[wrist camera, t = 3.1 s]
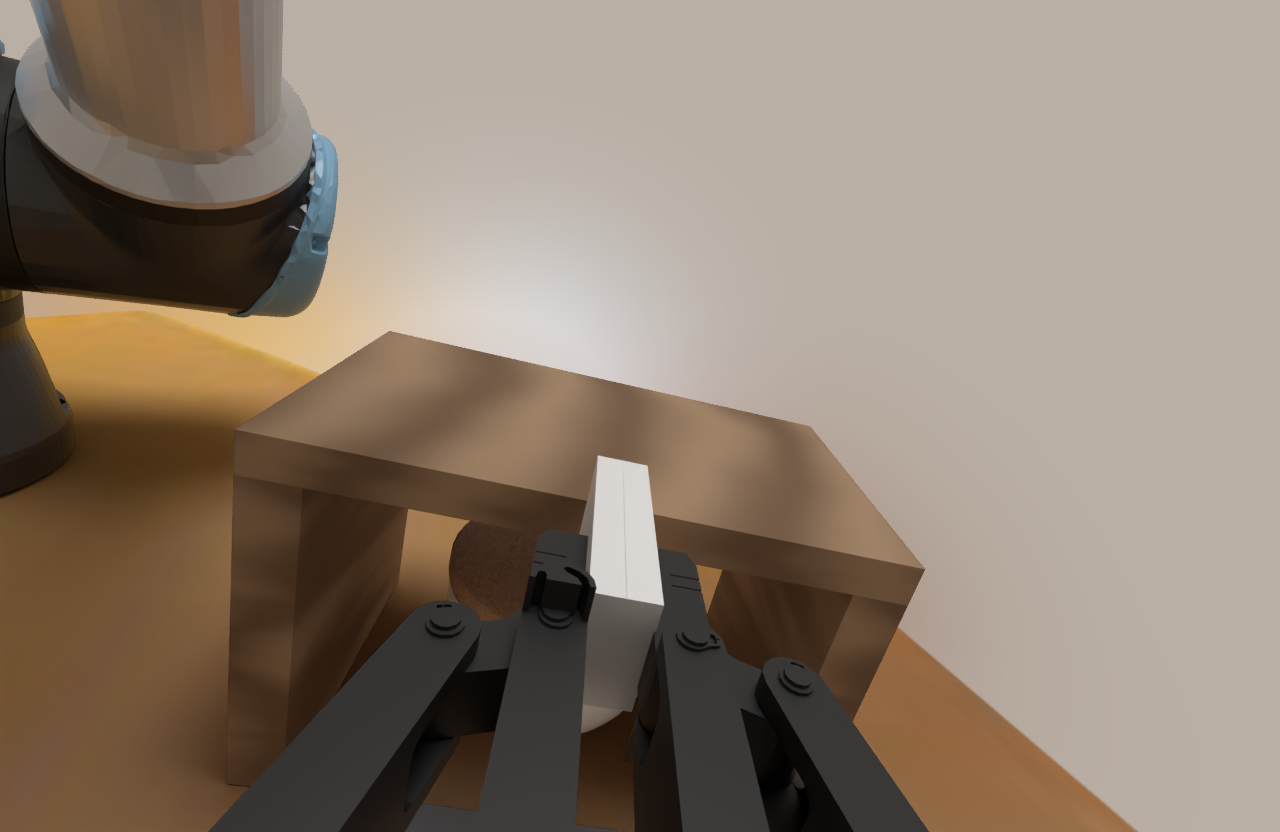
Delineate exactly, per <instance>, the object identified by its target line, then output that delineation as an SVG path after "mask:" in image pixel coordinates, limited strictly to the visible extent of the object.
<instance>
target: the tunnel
mask: <svg viewBox="0 0 1280 832" xmlns="http://www.w3.org/2000/svg"><path fill="white" fill-rule="evenodd" d="M598 456H603V457H608V458H613V459H618V460H622V461H627V462H632V463H637V464H642V465H647V466H648V474H649V482H650V491H651V499H652V508H653V516H654V525H655V533H656V541H657V548H661V549H666V550H671V551H677V552H682V553H686V554H687V555H688V557H689V558H690V559H691V560H692V562H693V563H694V564H696V565H701V566H706V567H711V568H716V569H722V573H721V576H720V579H719V582H718V584H717V587H716V590H715V593H714V596H713V599H712V602H711V605H710V608H709V610H708V613H707V618H708V623H709V627H710V628H712V629H713V630H714V631H715V632H716V633H717V634H718V635H719V636H720V637H721V638H722V640H723V642H724V644H725V647H726V651H727V654H729V655H730V656H732V657H733V658H735V659H737V660H739V661H741V662H743V663H746V664H748V665H751V666H753V667H755V668H758V669H760V670H762V669H763V666H764V664H765V663H766V662H767V661H768V660H769V659H772V658H777V657H784V658H791V659H794V660H796V661H799V662H801V663H804V664H805V665H807V666H808V667H809V668H811V669H812V670H814V671H815V672H816V673H817V674H818V675H819V676H820V677H821V678H822V679H823V680H824V682H825V683H826V685H827V686H828V688H829V689H830V690H831V692H832V693H833V695H834V696H835V698H836V699H837V701H838V702H839V703H840V705H841V706H842V708H843V709H844V711H845V712H846V713H847V715H848V716H849V718H850V719H851V721H853V719H854V717H855V715H856V713H857V711H858V709H859V707H860V705H861V703H862V700H863V698H864V696H865V694H866V692H867V690H868V688H869V686H870V684H871V682H872V680H873V677H874V675H875V673H876V671H877V669H878V667H879V665H880V663H881V661H882V659H883V656H884V654H885V652H886V650H887V648H888V646H889V644H890V642H891V640H892V638H893V636H894V633H895V631H896V629H897V627H898V625H899V623H900V621H901V619H902V617H903V614H904V612H905V610H906V608H907V606H908V604H909V602H910V600H911V598H912V596H913V594H914V592H915V589H916V587H917V585H918V583H919V581H920V579H921V577H922V575H923V573H924V571H925V569H924V567H923V566H922V565H921V564H920V562H919V561H918V560H917V559H916V557H915V556H914V555H913V554H912V552H911V551H910V550H909V549H908V547H907V546H906V545H905V544H904V542H903V541H902V540H901V539H900V537H899V536H898V535H897V534H896V532H895V531H894V530H893V529H892V528H891V526H890V525H889V524H888V523H887V521H886V520H885V519H884V518H883V516H882V515H881V514H880V513H879V511H878V510H877V509H876V508H875V506H874V505H873V504H872V503H871V501H870V500H869V499H868V498H867V496H866V495H865V494H864V493H863V491H862V490H861V489H860V488H859V486H858V485H857V484H856V483H855V482H854V480H853V479H852V478H851V476H850V475H849V474H848V473H847V471H846V470H845V469H844V468H843V467H842V465H841V464H840V463H839V462H838V460H837V459H836V458H835V457H834V455H833V454H832V453H831V452H830V451H829V449H828V448H827V447H826V445H825V444H824V443H823V442H822V440H821V439H820V438H819V437H818V436H817V434H816V433H815V432H814V430H813V429H812V428H811V427H810V426H806V425H801V424H797V423H793V422H788V421H784V420H780V419H775V418H771V417H766V416H762V415H757V414H753V413H748V412H744V411H739V410H735V409H731V408H727V407H722V406H718V405H713V404H709V403H704V402H700V401H696V400H691V399H687V398H682V397H678V396H674V395H669V394H665V393H660V392H656V391H652V390H647V389H643V388H638V387H634V386H630V385H625V384H621V383H616V382H611V381H607V380H603V379H598V378H594V377H590V376H585V375H581V374H576V373H572V372H568V371H563V370H559V369H555V368H550V367H545V366H541V365H536V364H532V363H528V362H524V361H519V360H515V359H510V358H506V357H502V356H497V355H493V354H488V353H483V352H479V351H475V350H471V349H466V348H462V347H457V346H453V345H449V344H444V343H440V342H435V341H431V340H426V339H422V338H418V337H413V336H408V335H404V334H400V333H395V332H391V331H389V332H387V333H386V334H384V335H382V336H381V337H379V338H378V339H376V340H375V341H373V342H371V343H370V344H368V345H367V346H365V347H364V348H362V349H361V350H359V351H357V352H356V353H354V354H353V355H351V356H349V357H348V358H346V359H345V360H343V361H342V362H340V363H339V364H337V365H335V366H334V367H332V368H331V369H329V370H327V371H326V372H324V373H323V374H321V375H319V376H318V377H316V378H315V379H313V380H312V381H310V382H308V383H307V384H305V385H304V386H302V387H301V388H299V389H297V390H296V391H294V392H293V393H291V394H290V395H288V396H286V397H285V398H283V399H282V400H280V401H279V402H277V403H275V404H274V405H272V406H271V407H269V408H268V409H266V410H264V411H263V412H261V413H260V414H258V415H257V416H255V417H253V418H252V419H250V420H249V421H247V422H246V423H244V424H242V425H241V426H239V427H238V428H236V429H235V437H234V477H233V518H232V559H231V600H230V640H229V681H228V722H227V763H226V784H232V785H239V786H247V787H250V786H251V785H252V784H253V783H254V782H255V781H256V780H257V779H258V778H259V777H260V776H261V774H262V773H263V772H264V771H265V770H266V769H267V768H268V767H269V766H270V765H271V764H272V763H273V762H274V760H275V759H276V758H277V757H278V756H279V755H280V754H281V753H282V752H283V751H284V750H285V749H286V748H287V746H288V745H289V744H290V743H291V742H292V741H293V740H294V739H295V738H296V737H297V736H298V735H299V734H300V732H301V731H302V730H303V729H304V728H305V727H306V726H307V725H308V724H309V723H310V722H311V721H312V720H313V719H314V717H315V716H316V715H317V714H318V713H319V712H320V711H321V710H322V709H323V708H324V707H325V706H326V705H327V703H328V702H329V701H330V700H331V699H332V698H333V697H334V696H335V695H336V693H337V691H338V689H339V688H340V686H341V684H342V682H343V680H344V679H345V677H346V675H347V673H348V671H349V670H350V668H351V666H352V664H353V662H354V661H355V659H356V657H357V655H358V653H359V652H360V650H361V648H362V646H363V644H364V643H365V641H366V639H367V637H368V635H369V633H370V632H371V630H372V628H373V626H374V624H375V623H376V621H377V619H378V617H379V615H380V614H381V612H382V610H383V608H384V606H385V605H386V603H387V601H388V599H389V597H390V596H391V594H392V592H393V590H394V588H395V587H396V585H397V583H398V579H399V572H400V564H401V557H402V549H403V542H404V534H405V527H406V520H407V512H408V509H413V510H418V511H423V512H428V513H433V514H439V515H444V516H449V517H454V518H459V519H464V520H469V521H475V522H480V523H485V524H490V525H495V526H500V527H505V528H511V529H516V530H521V531H526V532H531V533H536V534H544V533H545V532H546V531H547V530H548V529H554V530H559V531H564V532H569V533H575V534H579V533H580V528H581V524H582V520H583V516H584V512H585V507H586V503H587V499H588V495H589V491H590V486H591V482H592V478H593V474H594V470H595V465H596V461H597V457H598ZM797 774H798V773H797ZM798 776H799V774H798ZM799 778H800V776H799ZM800 779H801V778H800ZM801 781H802V780H801Z"/></svg>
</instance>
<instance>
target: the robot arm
mask: <svg viewBox="0 0 1280 832" xmlns="http://www.w3.org/2000/svg"><path fill="white" fill-rule="evenodd" d="M30 1H31V5H32V8H33V11H34V14H35V17H36V20H37V23H38V26H39V29H40V32H41V35H42V36H41V37H39V38H38V39H37V40H35V42H33V43H32V45H30V46H29V47H28V49H27V50H26V52H25V53H24V55H23V56H22V58H21V60H16V59H12V58H8V57H4V56H2V54H4V52H5V49H4V44H3V42H1V40H0V495H1V494H4V493H7V492H9V491H12V490H15V489H17V488H20V487H22V486H25V485H27V484H29V483H31V482H33V481H36V480H38V479H40V478H41V477H43V476H45V475H47V474H48V473H50V472H52V471H53V470H55V469H56V468H57V467H59V466H60V465H61V464H62V463H64V462H65V461H66V459H67V458H68V457H69V456H70V455H71V453H72V451H73V449H74V444H75V440H74V426H73V415H72V411H71V407H70V405H69V403H68V402H67V400H66V399H65V397H64V396H63V395H62V394H61V393H60V392H59V391H58V390H56V389H55V387H54V384H53V382H52V380H51V378H50V375H49V373H48V370H47V368H46V366H45V363H44V361H43V359H42V357H41V355H40V353H39V351H38V349H37V347H36V345H35V343H34V341H33V339H32V337H31V335H30V333H29V331H28V329H27V326H26V323H25V315H24V307H23V297H22V291H30V292H40V293H49V294H58V295H67V296H77V297H86V298H95V299H104V300H113V301H114V300H115V301H123V302H132V303H142V304H151V305H161V306H168V307H176V308H184V309H193V310H201V311H209V312H217V313H226V314H228V315H230V316H235V317H248V316H250V315H257V316H274V317H289V316H294V315H297V314H299V313H301V312H302V311H304V310H305V309H306V308H307V307H308V306H309V305H310V304H311V302H312V301H313V298H314V297H315V295H316V293H317V290H318V287H319V285H320V282H321V279H322V275H323V271H324V268H325V264H326V259H327V255H328V241H329V239H330V235H331V232H332V228H333V224H334V217H335V209H336V200H337V188H338V161H337V153H336V149H335V147H334V145H333V144H332V142H331V141H330V140H329V139H328V138H327V137H325V136H323V135H320V134H318V133H317V132H315V131H314V130H313V129H312V128H311V124H310V120H309V117H308V114H307V111H306V108H305V106H304V105H303V103H302V101H301V99H300V98H299V96H298V95H297V93H296V92H295V91H294V90H293V88H292V87H291V86H290V85H289V83H288V82H287V81H286V80H285V79H284V78H283V77H282V29H283V0H30ZM637 693H638V713H637V717H636V720H635V723H634V726H633V730H632V733H631V736H630V739H629V743H628V746H627V749H626V753H625V757H624V761H625V762H629V760H630V757H631V754H632V752H633V776H634V812H635V832H929V831H928V830H927V828H926V827H925V825H924V824H923V823H922V821H921V820H920V818H919V817H918V815H917V814H916V812H915V811H914V810H913V808H912V807H911V805H910V804H909V802H908V801H907V800H906V798H905V797H904V795H903V794H902V792H901V791H900V790H899V788H898V787H897V785H896V784H895V782H894V781H893V779H892V778H891V777H890V775H889V774H888V772H887V771H886V769H885V768H884V767H883V765H882V764H881V762H880V761H879V759H878V758H877V756H876V755H875V754H874V752H873V751H872V749H871V748H870V746H869V745H868V744H867V742H866V741H865V739H864V738H863V736H862V735H861V734H860V732H859V731H858V729H857V728H856V726H855V725H854V723H853V722H852V721H851V719H850V718H849V716H848V715H847V713H846V712H845V711H844V709H843V708H842V706H841V705H840V703H839V702H838V701H837V699H836V698H835V696H834V695H833V693H832V692H831V690H830V689H829V688H828V686H827V685H826V683H825V682H824V680H823V679H822V678H821V677H820V676H819V675H818V674H817V673H816V672H815V671H814V670H812V669H811V668H809V667H808V666H807V665H805V664H804V663H801V662H799V661H796V660H794V659H791V658H784V657H777V658H772V659H769V660H768V661H767V662H766V663H765V664H764V666H763V669H762V670H760V669H758V668H755V667H753V666H751V665H748V664H746V663H743V662H741V661H739V660H737V659H735V658H733V657H732V656H730V655H729V654H727V651H726V647H725V644H724V642H723V640H722V638H721V637H720V636H719V635H718V634H717V633H716V632H715V631H714V630H713V629H712V628H710V627H709V623H708V618H707V614H706V609H705V604H704V600H703V595H702V593H701V586H700V582H699V577H698V572H697V568H696V565H695V564H694V563H693V562H692V560H691V559H690V558H689V557H688V555H687V554H686V553H682V552H677V551H671V550H666V549H661V548H657V541H656V533H655V525H654V516H653V508H652V499H651V491H650V482H649V474H648V466H647V465H642V464H637V463H632V462H627V461H622V460H618V459H613V458H608V457H603V456H598V457H597V461H596V465H595V470H594V474H593V478H592V482H591V486H590V491H589V495H588V499H587V503H586V507H585V512H584V516H583V520H582V524H581V528H580V533H579V534H575V533H569V532H564V531H559V530H554V529H548V530H547V531H546V532H545V533H544V534H542V535H541V536H540V537H539V538H538V542H537V546H536V551H535V555H534V560H533V564H532V569H531V573H530V575H529V579H528V584H527V589H526V593H525V598H524V602H523V605H522V607H521V608H520V609H519V610H518V611H517V612H515V613H514V614H512V615H510V616H508V617H505V618H502V619H498V620H491V621H480V617H479V616H478V615H477V613H476V612H475V611H474V610H473V609H471V608H469V607H468V606H466V605H464V604H462V603H457V602H452V601H435V602H431V603H428V604H425V605H422V606H420V607H419V608H418V609H416V610H415V611H413V612H412V613H411V614H410V615H409V616H408V617H407V619H406V620H405V621H404V622H403V623H402V624H401V625H400V626H399V627H398V628H397V629H396V630H395V631H394V632H393V634H392V635H391V636H390V637H389V638H388V639H387V640H386V641H385V642H384V643H383V644H382V645H381V646H380V648H379V649H378V650H377V651H376V652H375V653H374V654H373V655H372V656H371V657H370V658H369V659H368V660H367V662H366V663H365V664H364V665H363V666H362V667H361V668H360V669H359V670H358V671H357V672H356V673H355V674H354V676H353V677H352V678H351V679H350V680H349V681H348V682H347V683H346V684H345V685H344V686H343V687H342V688H341V689H340V691H339V692H338V693H337V694H336V695H335V696H334V697H333V698H332V699H331V700H330V701H329V702H328V703H327V705H326V706H325V707H324V708H323V709H322V710H321V711H320V712H319V713H318V714H317V715H316V716H315V717H314V719H313V720H312V721H311V722H310V723H309V724H308V725H307V726H306V727H305V728H304V729H303V730H302V731H301V732H300V734H299V735H298V736H297V737H296V738H295V739H294V740H293V741H292V742H291V743H290V744H289V745H288V746H287V748H286V749H285V750H284V751H283V752H282V753H281V754H280V755H279V756H278V757H277V758H276V759H275V760H274V762H273V763H272V764H271V765H270V766H269V767H268V768H267V769H266V770H265V771H264V772H263V773H262V774H261V776H260V777H259V778H258V779H257V780H256V781H255V782H254V783H253V784H252V785H251V786H250V787H249V788H248V789H247V791H246V792H245V793H244V794H243V795H242V796H241V797H240V798H239V799H238V800H237V801H236V802H235V803H234V805H233V806H232V807H231V808H230V809H229V810H228V811H227V812H226V813H225V814H224V815H223V816H222V817H221V819H220V820H219V821H218V822H217V823H216V824H215V825H214V826H213V827H212V828H211V829H210V830H209V831H208V832H405V831H406V829H407V828H408V826H409V824H410V823H411V821H412V819H413V818H414V816H415V814H416V813H417V811H418V809H419V808H420V806H421V805H422V803H423V801H424V800H425V798H426V796H427V795H428V793H429V791H430V790H431V788H432V786H433V785H434V783H435V781H436V780H437V778H438V776H439V775H440V773H441V771H442V770H443V768H444V766H445V765H446V763H447V761H448V760H449V758H450V756H451V755H452V753H453V751H454V750H455V748H456V746H457V745H458V742H459V739H460V736H462V735H469V734H477V733H484V732H491V731H495V735H494V739H493V744H492V748H491V753H490V757H489V762H488V766H487V771H486V775H485V780H484V784H483V789H482V794H481V798H480V803H479V807H478V812H477V816H476V821H475V825H474V830H473V832H575V825H576V808H577V792H578V775H579V759H580V742H581V726H582V709H583V705H589V706H596V707H602V708H608V709H615V710H621V711H627V712H632V710H633V706H634V703H635V700H636V696H637ZM797 773H798V774H799V776H800V778H801V779H800V778H799V776H798V774H797ZM801 780H802V781H801Z"/></svg>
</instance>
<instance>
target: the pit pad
mask: <svg viewBox="0 0 1280 832" xmlns="http://www.w3.org/2000/svg"><path fill="white" fill-rule="evenodd" d="M477 812H478V811H474V810H467V809H460V808H452V807H445V806H438V805H431V804H424V803H422V805H421V806H420V808H419V809H418V811H417V813H416V814H415V816H414V818H413V819H412V821H411V823H410V824H409V826H408V828H407V829H406V831H405V832H473V830H474V825H475V821H476V816H477ZM575 832H624V831H617V830H610V829H603V828H596V827H589V826H581V825H575Z"/></svg>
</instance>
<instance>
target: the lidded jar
mask: <svg viewBox="0 0 1280 832" xmlns="http://www.w3.org/2000/svg"><path fill="white" fill-rule="evenodd" d="M541 535H542V534H536V533H531V532H526V531H521V530H516V529H511V528H505V527H500V526H495V525H490V524H485V523H480V522H475V521H470V522H468V523H467V524H466V525H465V526H464V527H463V528H462V529H461V531H460V532H459V533H458V535H457V537H456V539H455V541H454V543H453V547H452V552H451V557H450V563H449V578H450V581H449V586H448V593H447V601H452V602H457V603H462V604H464V605H466V606H468V607H469V608H471V609H473V610H474V611H475V612H476V613H477V615H478V616H479V617H480V621H491V620H498V619H502V618H505V617H508V616H510V615H512V614H514V613H515V612H517V611H518V610H519V609H520V608H521V607H522V605H523V602H524V598H525V593H526V589H527V584H528V579H529V575H530V573H531V569H532V564H533V560H534V555H535V551H536V546H537V542H538V538H539V537H540V536H541ZM637 697H638V693H637V696H636V698H637ZM621 712H623V711H621V710H615V709H608V708H602V707H596V706H589V705H583V709H582V726H581V733H585V732H588V731H590V730H593V729H595V728H597V727H600V726H602V725H603V724H605V723H607V722H609V721H610V720H612V719H613V718H615V717H616V716H618V715H619V714H620V713H621Z"/></svg>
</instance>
